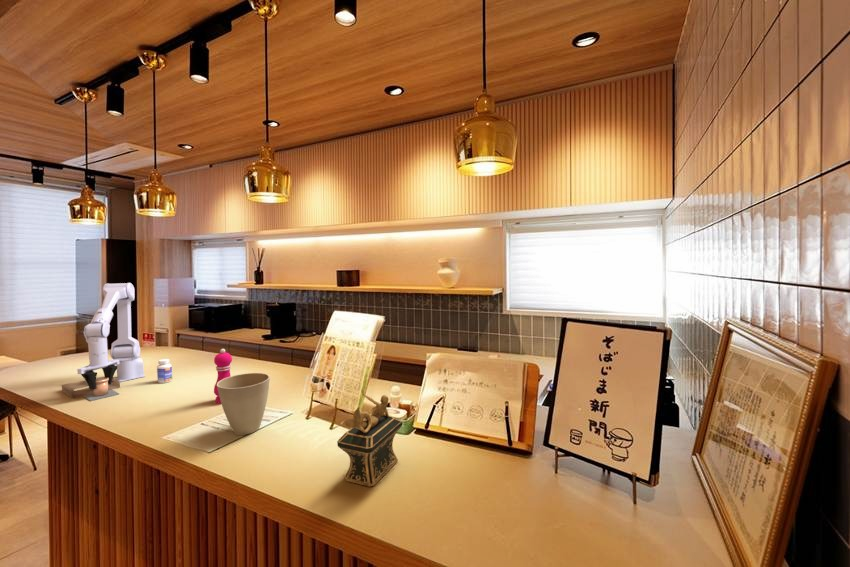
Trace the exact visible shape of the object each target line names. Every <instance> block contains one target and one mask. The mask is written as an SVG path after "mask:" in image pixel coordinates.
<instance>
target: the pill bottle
mask: <svg viewBox="0 0 850 567" xmlns="http://www.w3.org/2000/svg"><path fill="white" fill-rule="evenodd" d="M172 367H173V366H172V364H171V363H170V359H169V358H163V359H159V360H158V365H157V366H156V373H157V377H156V378H157V383H159V384H165V383H170V382H172V381H173V369H172Z"/></svg>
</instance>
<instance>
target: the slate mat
mask: <svg viewBox="0 0 850 567" xmlns="http://www.w3.org/2000/svg"><path fill="white" fill-rule="evenodd" d="M108 392H109V393H108V394H105V395H101V396H94V393H93V394H89V395H84V396H83V397H84V399H86V400H88V401H89V402H93V401H97V400H101V399H105V398H109V397H114V396H118V395H120V393H119V392H118V391H116V390H114V389H111V390H108Z"/></svg>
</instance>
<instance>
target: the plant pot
mask: <svg viewBox="0 0 850 567" xmlns="http://www.w3.org/2000/svg"><path fill="white" fill-rule="evenodd" d="M230 376H231V377H227V378H225V379H222V380H220V381H219V382H218V383H217V389H218V393H219V397H220V401H221V404H220V405H221V407H222V410H223V412H224V415H225V417H226V420H227V422H228V425H229V426H230V427H231V429H232V431H233V433H234V434H235V435H239V436H242V435H249V434H253V433H256V431H258V430H259V429H260V427H261V424H262V421H263V418H264V413H265V411H266V406H267V400H268V398H269V397H268V396H269V389H270V380H271V377H270V375H269V374H267V373H265V372H264V373H263V372H246V373H240V374H236V375H235V374H234V375H230Z"/></svg>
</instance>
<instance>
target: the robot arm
mask: <svg viewBox="0 0 850 567" xmlns="http://www.w3.org/2000/svg"><path fill="white" fill-rule="evenodd" d="M135 290H136V289H135V287H134V285H133V284H132V283H131V282H127V283H125V282H124V283H123V282H122V283H121V282H120V283H119V282H118V283H109V282H108V283H105V284H104V285H103V287H102V294H103V297H104V299H103V301H102V304H101V307H100V308H99V309H96V311H95V313H94V315H93V317H92V319H91V321H90V323H89V324H86V325H85V326H84V330H83V335H84V338H85V342H86V343H87V345H88V359H89V360H88V361H89V364H88V365H85V366H83V367H79V368H77V369H76V371H77V375H80V376H81V377H83V379H84V381H85V380H86V382H87V383H88V386H87V387H88V388H90V389H92V390H94V389H96V378H97V376H98V372H95V371H97V370H101V369H102V371H103V375H104V376H105V377H108V378H109V380H108V385H110V384H111V383H112V379H115V380H117V381H119V382H120V383H122V382H125V381H131V380H134V379H139V378H144V377H145V372H144V371H145V370H144V368H145V367H144V361H143V358H142V357H140V355H141V346H140V342H139V340H138V339H136V338H134V337H132V308H131V307H132V302H133V301H135V295H136V294H135ZM115 306H116V307H117V308H116V309H117V310H116V311H117V339H116V340H114V341H113V342H112V343H111V348H110V351H108V350H109V349H108V339H107V337H108V336H109V335H110V329H111V328H110V327H111V325H110V323H111V321H112V319H113V317H114V312H113V310H114V308H115ZM109 352H110V354H108V353H109ZM109 355H110V357H111V359H112V360H109ZM115 373H116V376H117V377H114V375H115ZM104 376H103V377H104Z"/></svg>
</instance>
